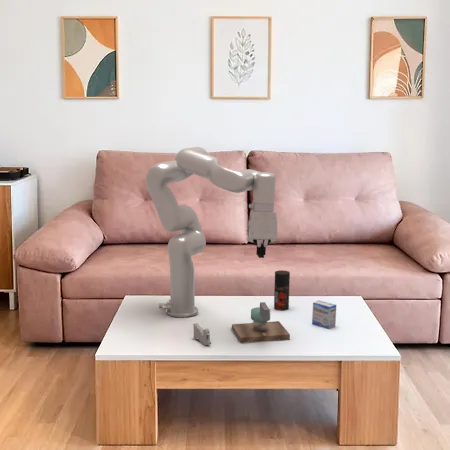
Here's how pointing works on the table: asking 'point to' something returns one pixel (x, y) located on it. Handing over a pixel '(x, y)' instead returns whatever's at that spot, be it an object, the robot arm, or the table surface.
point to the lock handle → (260, 313)
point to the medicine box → (324, 314)
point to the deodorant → (281, 290)
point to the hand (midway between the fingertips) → (260, 256)
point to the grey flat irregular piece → (201, 334)
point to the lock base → (260, 332)
